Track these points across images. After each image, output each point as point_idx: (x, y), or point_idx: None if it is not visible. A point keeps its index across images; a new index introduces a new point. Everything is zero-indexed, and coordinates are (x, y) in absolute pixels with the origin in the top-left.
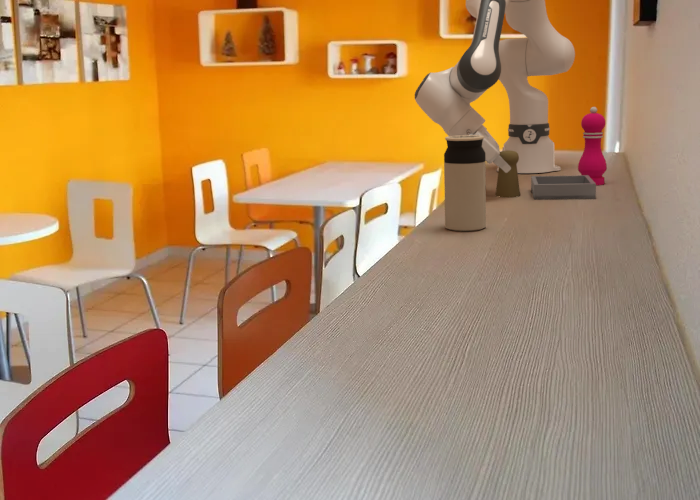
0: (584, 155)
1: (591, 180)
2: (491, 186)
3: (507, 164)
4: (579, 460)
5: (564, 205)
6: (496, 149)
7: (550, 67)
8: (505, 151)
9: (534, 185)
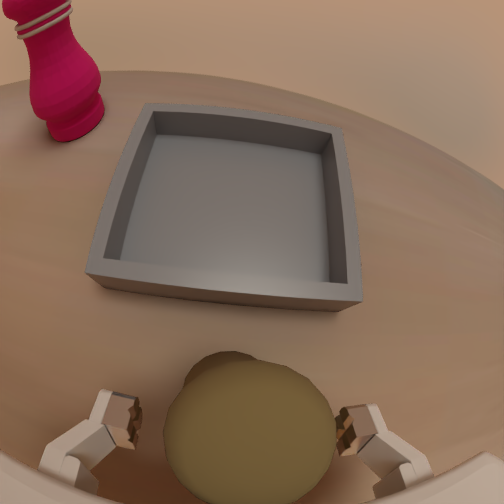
0: (55, 74)
1: (269, 115)
2: (11, 396)
3: (384, 424)
4: None
5: (419, 244)
6: (501, 466)
7: None
8: (296, 473)
9: (361, 301)
